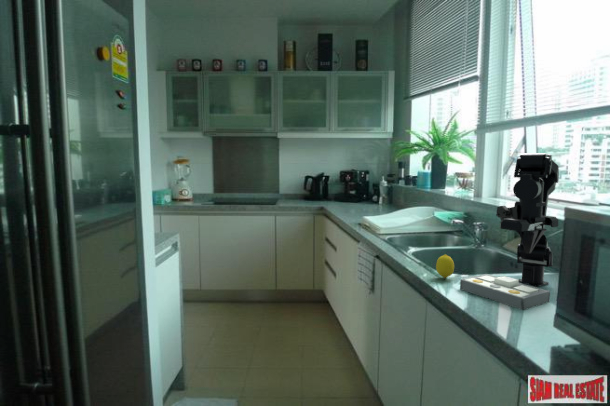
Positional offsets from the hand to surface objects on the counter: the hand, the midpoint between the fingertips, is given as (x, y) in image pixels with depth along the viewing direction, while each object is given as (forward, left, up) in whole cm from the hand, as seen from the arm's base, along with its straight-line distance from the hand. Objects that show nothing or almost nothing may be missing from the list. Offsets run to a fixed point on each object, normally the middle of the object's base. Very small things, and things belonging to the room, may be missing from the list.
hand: (528, 252), depth 107 cm
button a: (+5, -8, -11) cm, 15 cm away
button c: (+6, +3, -11) cm, 13 cm away
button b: (+6, -2, -10) cm, 12 cm away
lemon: (+8, -22, -12) cm, 26 cm away
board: (+7, -3, -12) cm, 14 cm away
